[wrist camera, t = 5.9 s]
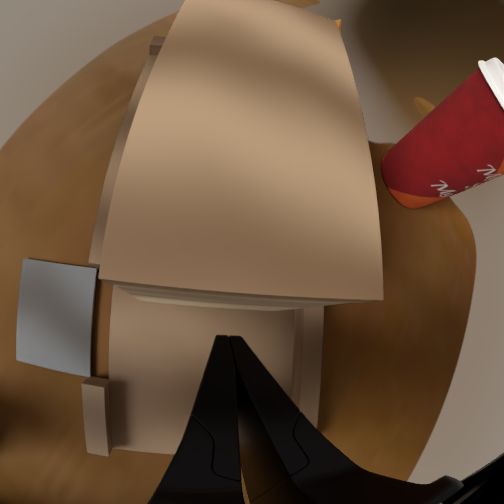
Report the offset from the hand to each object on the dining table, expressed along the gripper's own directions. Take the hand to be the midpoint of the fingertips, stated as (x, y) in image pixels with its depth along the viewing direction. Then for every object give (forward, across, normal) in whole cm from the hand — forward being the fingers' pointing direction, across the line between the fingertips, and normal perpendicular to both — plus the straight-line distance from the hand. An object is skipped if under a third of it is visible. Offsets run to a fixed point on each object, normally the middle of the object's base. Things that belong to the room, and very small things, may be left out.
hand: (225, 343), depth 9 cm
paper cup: (+14, -16, -4) cm, 22 cm away
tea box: (+10, 0, -2) cm, 10 cm away
